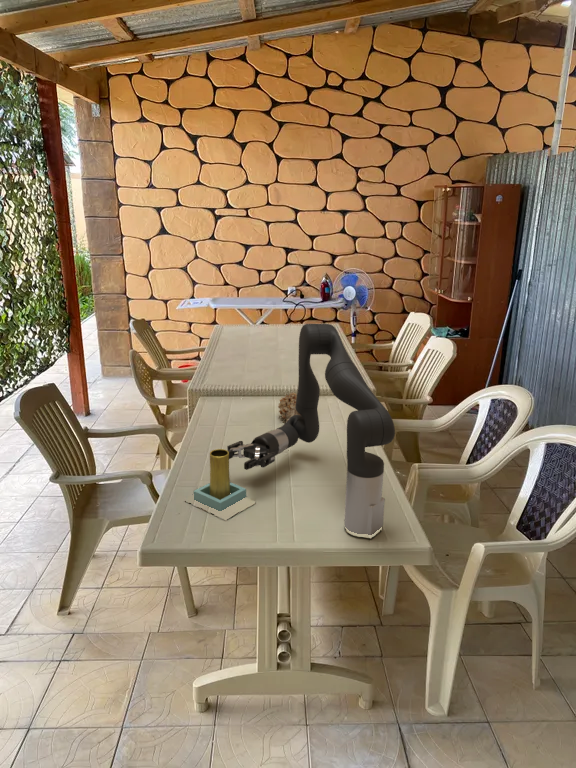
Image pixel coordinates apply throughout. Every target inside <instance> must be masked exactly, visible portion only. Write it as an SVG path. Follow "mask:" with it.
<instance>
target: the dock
mask: <svg viewBox="0 0 576 768" xmlns="http://www.w3.org/2000/svg"><path fill="white" fill-rule="evenodd" d="M230 493H231V494H230V495H229V496H227V497H225V498H223V499H221V500H219V499H217V498H215V497H213V496H210V482H209V483H206V484H205V485H202V486H200V487H199V488H197V489H195V490H193V494H194V500H196V501H198V502H200V503H202V504H204V505H207V506H209V507H211V508H214V509H216V510H218V511H222V510H224V509H226V508H227V507H229V506H231V505H233V504H235V503H236V502H238V501H240V500H242V499H243V498H245V497H247V488H245V487H243V486H241V485H239V484H237V483H233V482H230Z"/></svg>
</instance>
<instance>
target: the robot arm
mask: <svg viewBox="0 0 576 768" xmlns="http://www.w3.org/2000/svg"><path fill="white" fill-rule="evenodd" d="M298 337H299V338H298V382H297V384H298V385H297V393H296V395H297V398H296V406H295V408H296V411H297V412H298V413H299V414H300V415H293V416H291V417H290V418H289V420H288V421H287V420H286V421H287V422H286V421H285V423H284V424H283V425H281V426H280V427H279V426H278V427H277V428H275V429H271V430H270V431H267V432H264V433H263V434H260V435H258V436H256V437H254V438H253V440H252V442H251V443H247V444H244V441H243V440H240V441H237V442H235V443H234V442H233V443H231V444H230V445H227V448H226V450H227V451H228V452H229V460H230V459H232V458H239V459H243V458H246V459H247V458H248V460H247V461H245V462H244V463H243V469H244V470H247V471H248V470H249V469H252V468H255V467H260V468H266V467H267V466H269V465H271V464H272V463H275V461H276V456H278V455H279V454H281V453H283V452H284V451H285V450H288V449H290V448H291V447H293V446H295V445H296V444H297V443H298V440H301V441H303V442H305V443H309V444H310V443H312V442H314V441H315V440H316V439H317V438H318V436H319V433H320V420H319V412H318V405H319V400H320V394H321V391H320V390H321V388H320V384H319V382H318V381H319V380H317V377H316V375H315V374H314V372H313V368H312V364H311V356H312V355H326V356H329V357H330V359H329V360H328V362H327V364H326V367H325V371H324V378H325V381H326V383H327V385H328V387H329V389H330V391H331V392H332V394H333V396H335V397H336V398H337V400H340V401H341V402H342V403H344V404H346V405H348V406H350V407H351V408H353V409H355V410H353V411H351V412H350V413H349V414H348V416H347V421H346V461H347V463H346V466H347V467H346V485H345V501H344V519H343V522H344V523H343V524H344V525H345V527H346V528H347V529H348V530H349V531H351V532H354V533H357V534H368V535H372V534H374V533H375V532H376V531H377V530H379V529H380V528H381V527H382V526H383V525H384V514H385V501H386V499H385V497H382V496H383V486H384V485H383V484H384V474H385V473H384V470H385V462H384V460H383V459H382V457H380V456H379V455H377V454H375V453H372V452H368V451H366V448H371V447H378V446H379V447H381V446H385V445H389V444H390V443H392V441H393V440H394V439H395V435H396V429H395V424H394V421H393V418H392V416H391V414H390V413H389V411H388V410H387V408H386V407H385V406H384V405H383V403H382V402H381V401H380V400H379V399H378V398H377V396H376V395H375V394H374V392H373V391H372V390H371V388H370V387H369V385H368V384H367V382H366V381H365V379H364V377H363V376H362V373H361V372H360V370H359V369H358V367H357V366H356V364H355V363H354V362H353V360H352V358H351V357H350V355H349V354H348V352H347V349H346V348H345V346H344V343H343V341H342V339H341V337H340V334H339V332H338V330H337V328H336V327H335V326H334V325H333V324H331V323H330V324H329V323H305V324H303V325H302V327H301V329H300V332H299V336H298ZM242 451H243V452H242ZM242 453H243V454H242ZM344 525H343V526H344ZM383 527H384V526H383Z"/></svg>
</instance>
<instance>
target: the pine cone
mask: <svg viewBox="0 0 576 768" xmlns="http://www.w3.org/2000/svg"><path fill="white" fill-rule="evenodd" d="M296 398H297V393H296V392H294V391H292V392H290V393H289V394H287V393H286V395H285V396H284V397H283V396H281V398H280V399H279V403H278V406H277V407H278V409H279V410H278V413H279V414H280V415H281V417H282V419H283V420H286V421H285V423H286V422H287V421H288V420H289V418H290V417H291V416H293V415H300V414H299V413H298V412H297V411H296V408H295V406H296Z"/></svg>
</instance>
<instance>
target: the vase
mask: <svg viewBox="0 0 576 768" xmlns="http://www.w3.org/2000/svg"><path fill="white" fill-rule="evenodd" d="M209 474H210V475H209V483H210V496H213V497H215V498H217V499H219V500H221V499H223V498H225V497H227V496H229V495H230V481H231V480H230V477H231V476H230V459H229V452H228V451H227V449H224V448H223V449H222V448H217V449H213V450H211V451H210V452H209Z"/></svg>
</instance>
